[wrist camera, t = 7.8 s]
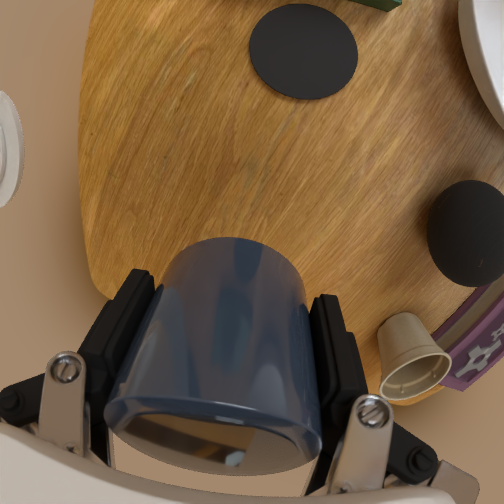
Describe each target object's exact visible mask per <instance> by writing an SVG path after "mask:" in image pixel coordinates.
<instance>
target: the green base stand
mask: <svg viewBox="0 0 504 504" xmlns="http://www.w3.org/2000/svg"><path fill="white" fill-rule="evenodd" d="M350 1H354V2H357V3H361V4H364V5H368V6H371V7H374V8H377V9H380V10H383V11H386V12H389V11H391V10H392V9H394V8H396V7H398V6H399V5H401V4H402V0H350Z"/></svg>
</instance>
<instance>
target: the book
mask: <svg viewBox="0 0 504 504" xmlns="http://www.w3.org/2000/svg"><path fill="white" fill-rule="evenodd" d="M431 337H432V339H433V340H434V341H435V343H436V344H437V346H438V347H440V348H441V349H442V350H443V351H444V352H445V353H447V354H448V355H449V356H450V357H451V360H452V364H451V368H450V370H449V371H448V373H447V375H446V376H445V377H444V378H443V379H442V380H441V381H440V382H439V383H438V384H440V385H443V386H446V387H449V388H452V389H456V390H459V391H462V392H463V391H464V390H465V389H466V388H468V387H469V386H470V385H471V384H472V383H474V382H475V381H476V380H477V379H479V378H480V377H481V376H482V375H483V374H485V373H486V372H487V371H488V370H489V369H490V368H491V367H493V366H494V365H495V364H496V363H497V362H498V361H499V360H500V359H501V358H502V357H503V356H504V274H503V275H502V276H501V277H500V278H498V279H497V280H496V281H494V282H492V283H490V284H488V285H485V286H481V287H478V288H477V289H476V290H475V291H474V293H473V294H472V295H471V296H470V297H469V298H468V299H467V300H466V301H465V302H464V303H463V305H462V306H461V307H460V308H459V309H458V310H457V311H456V312H455V313H454V314H453V315H452V316H451V317H450V318H449V319H448V320H447V321H446V322H445V323H444V324H443V325H442V326H441V327H440V328H439V329H438V330H437V331H435V332H434V333H433V334H432V335H431Z"/></svg>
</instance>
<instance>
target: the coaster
mask: <svg viewBox="0 0 504 504" xmlns="http://www.w3.org/2000/svg"><path fill="white" fill-rule="evenodd" d="M249 51H250V57H251V61H252V64H253V66H254V68H255V70H256V72H257V73H258V75H259V76H260V77H261V79H262V80H263V81H264V82H265V83H266V84H267V85H269V86H270V87H271V88H273V89H274V90H276V91H277V92H279V93H281V94H284V95H286V96H289V97H292V98H297V99H306V100H307V99H320V98H324V97H327V96H330V95H332V94H334V93H336V92H338V91H339V90H340V89H342V88H343V87H344V86H345V85H346V84H347V83H348V82H349V81H350V79H351V78H352V76H353V74H354V72H355V69H356V67H357V61H358V51H357V45H356V42H355V39H354V37H353V35H352V33H351V31H350V30H349V28H348V27H347V26H346V24H345V23H344V22H343V21H342V20H341V19H339V18H338V17H337V16H336V15H334V14H333V13H331V12H329V11H327V10H325V9H323V8H320V7H318V6H314V5H309V4H289V5H285V6H281V7H279V8H276V9H274V10H272V11H270V12H269V13H267V14H266V15H265V16H264V17H263V18H262V19H261V20H260V21H259V22H258V23H257V25H256V26H255V28H254V30H253V32H252V35H251V38H250V45H249Z"/></svg>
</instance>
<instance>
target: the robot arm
mask: <svg viewBox="0 0 504 504" xmlns="http://www.w3.org/2000/svg"><path fill="white" fill-rule="evenodd" d="M6 154H7V153H6V142H5V136H4V133H3V129H2V126H1V124H0V184H1V182H2V179H3V177H4V173H5V168H6ZM154 292H155V286H154V277H153V276H152V275H150V274H149V271H147V270H140V269H132V271H131V272H130V274H129V275H128V277H127V278H126V280H125V281H124V283H123V285H122V286H121V288H120V289H119V291H118V292H117V294H116V296H115V297H114V299H113V300H109V301H107V303H106V304H105V306H104V307H103V309H102V310H101V312H100V314H99V315H98V317H97V319H96V320H95V322H94V324H93V325H92V327H91V329H90V330H89V332H88V334H87V336H86V337H85V339H84V341H83V343H82V344H81V346H80V348H79V350H78V351H77V353H75V352H72V351H64V352H60V353H58V354H56V355H55V356H53V357H52V358H51V359H50V361H49V362H48V364H47V367H46V371H45V373H43V374H40V375H38V376H35V377H32V378H30V379H27V380H24V381H21V382H19V383H16V384H13V385H10V386H8V387H6V388H4V389H3V390H2V391H1V392H0V504H475V502H476V499H477V497H478V494H479V490H480V489H479V483H478V481H477V479H476V478H475V477H473V476H472V475H469V474H468V473H466V472H464V471H462V470H461V469H459V468H457V467H455V466H453V465H452V464H450V463H448V462H446V461H445V460H441V461H439V460H438V458H437V454H436V453H435V451H434V450H433V449H432V448H431V447H430V446H429V445H427V444H426V443H424V442H423V441H421V440H420V439H418V438H417V437H415V436H414V435H413V434H411V433H410V432H408V431H406V430H405V429H404V428H403V427H401V426H400V425H398V424H397V423H395V422H394V411H393V409H392V406H391V405H390V403H389V402H388V401H387V400H386V399H385V398H383V397H381V396H379V395H377V394H369V393H368V388H367V384H366V380H365V375H364V371H363V367H362V363H361V359H360V355H359V351H358V347H357V344H356V340H355V337H354V334H353V333H352V332H346V328H345V324H344V320H343V316H342V312H341V309H340V305H339V301H338V298H337V296H336V295H328V294H321V295H320V297H319V298H318V297H315V298H314V301H313V304H312V307H311V310H310V313H309V318H310V326H311V333H312V340H313V348H314V356H315V364H316V373H317V381H318V391H319V400H320V410H321V421H322V432H323V448H322V451H321V453H320V454H319V455H318V456H317V457H316V458H315V459H314V462H313V465H312V468H311V470H310V473H309V476H308V478H307V481H306V483H305V486H304V489H303V491H302V493H301V496H300V497H263V496H246V495H234V494H224V493H216V492H208V491H201V490H196V489H190V488H185V487H179V486H175V485H170V484H165V483H161V482H157V481H153V480H149V479H145V478H142V477H138V476H135V475H131V474H128V473H125V472H121V471H119V470H116V468H115V458H114V446H113V432H112V431H111V429H110V428H109V427H108V426H107V424H106V422H105V420H104V417H103V408H104V405H105V403H106V400H107V398H108V395H109V393H110V390H111V388H112V385H113V383H114V380H115V378H116V376H117V373H118V371H119V368H120V366H121V364H122V361H123V359H124V357H125V355H126V352H127V350H128V348H129V345H130V343H131V341H132V339H133V337H134V334H135V332H136V330H137V328H138V326H139V324H140V321H141V319H142V317H143V315H144V313H145V311H146V309H147V307H148V305H149V302H150V300H151V298H152V296H153V294H154Z"/></svg>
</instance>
